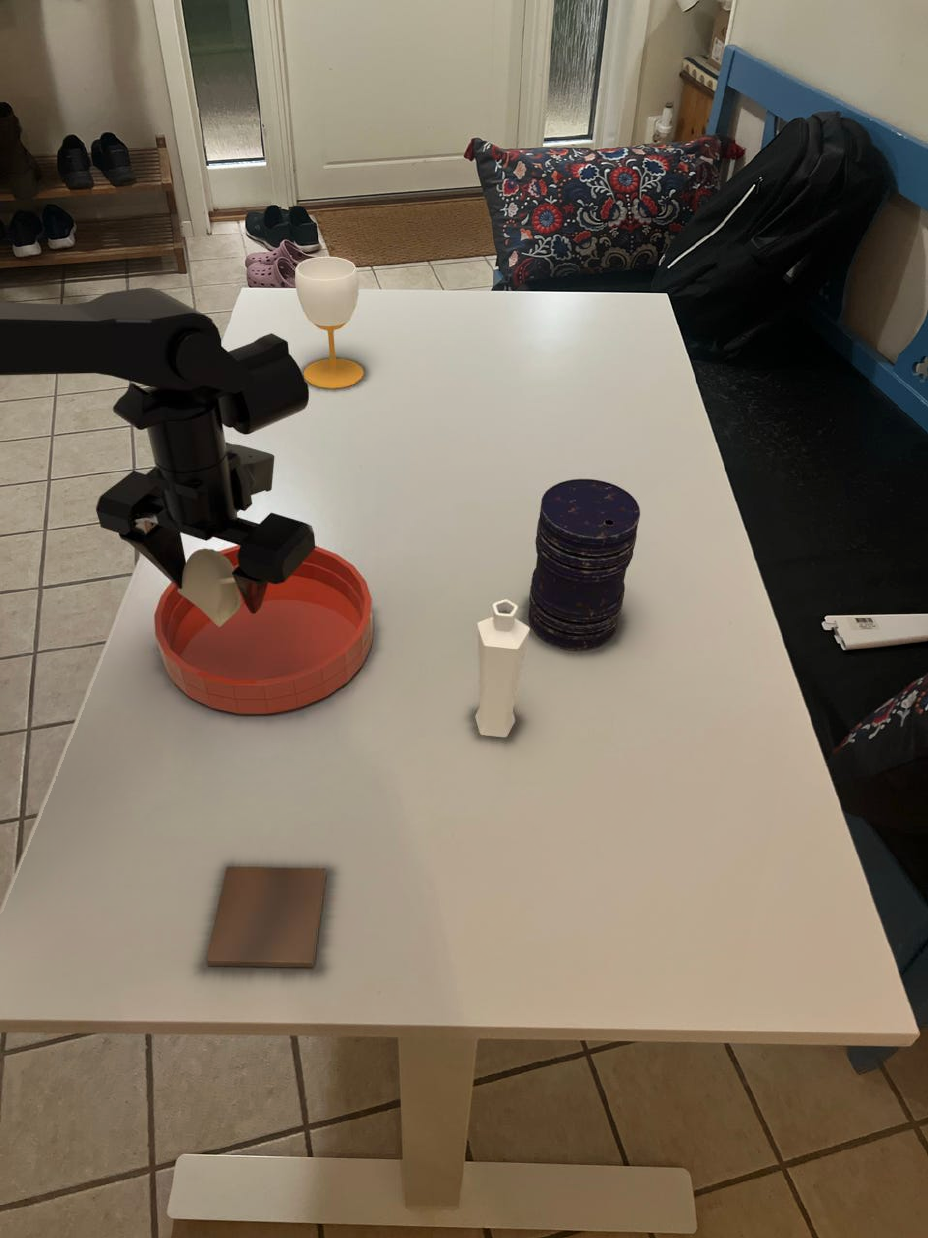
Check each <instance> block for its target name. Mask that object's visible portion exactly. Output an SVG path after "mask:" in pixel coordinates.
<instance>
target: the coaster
mask: <svg viewBox="0 0 928 1238" xmlns="http://www.w3.org/2000/svg"><path fill="white" fill-rule="evenodd" d="M224 874H225V875H224V878H223V883H222V887H221V891H220V896H219V900H218V905H217V910H216V914H215V918H214V923H213V928H212V933H211V936H210V941H209V946H208V950H207V955H206V960H205V962H206V965H207V966H208V967H251V968H253V967H255V968H256V967H258V968H260V967H261V968H263V967H265V968H314V967H315V960H316V954H317V953H316V952H317V945H318V937H319V931H320V921H321V916H322V915H321V914H322V906H323V897H324V890H325V884H326V875H327V873H326V869H325V868H320V867H319V868H317V867H316V868H315V867H309V868H308V867H270V866H269V867H267V866H226V869H225V873H224Z"/></svg>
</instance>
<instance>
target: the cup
mask: <svg viewBox="0 0 928 1238" xmlns="http://www.w3.org/2000/svg"><path fill="white" fill-rule="evenodd" d="M294 271H295V273H294V285H295V288H296V295H297V298H298V301H299V304H300V307H301V309H302V312H303V313H304V315H305V316H306V318H307V320H308V321H309V322H310V323H312V324H313V325H314V326H316V327H317V329H318V328H319V329H320V330H324V331H327V339H328V352H329V358H326V359H321V360H317V361H313V362H312V363H311V364H309V365H308V366H306V367H305V369H304V371H303V372H302V375H303V377H304V380H305V381H306V382H308V383H309V384H310V385H312V386H314V387H318V388H321V389H330V390H331V389H332V390H335V389H342V388H343V389H344V388H347V387H350V386H353V385H356V384H357V383H358V382H360V381H361V380H362V379H363V377H364V374H365V373H364V369H363V367H362V366H361V365H360V364H358V363H357V362H355V361H352V360H348V359H346V358H345V359H344V358H336V349H335V347H336V345H335V330H339V329H341V328H343V327H344V326H345V325H346V324H347V323H348V322H349V321H350V320H351V318H352V317H353V314H354V312H355V310H356V307H357V303H358V299H359V291H360V288H359V286H360V280H359V275H358V270H357V267H356V265H355V263H353V262H351V261H350V260H349V259H346V258H342V257H337V256H317V257H316V256H315V257H312V258H307V259H305V260H303V261H301V262H299V263H298V264H297V265H296V267H295V270H294Z"/></svg>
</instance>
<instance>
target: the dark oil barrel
mask: <svg viewBox="0 0 928 1238" xmlns="http://www.w3.org/2000/svg"><path fill="white" fill-rule="evenodd" d="M539 510H540V511H539V516H538V520H537V527H536V536H535V551H536V554H537V555H536V563H535V568H534V570H533V572H532V577H531V582H530V587H529V596H528V600H529V607H528V612H527V621H528V623H529V627H530V628H531V630H532V632H533V633H534V634H535V635H536V636H537V637H538V638H540V640H542V641H544V642H545V643H547V644H549V645H551V646H552V647H555V648H558V649H563V650H567V651H589V650H593V649H596V648H599V647H601V646H603V645H605V644H607V643H608V642H609V641H610V640H611V639H612V638H613V637H614V635H615V633H616V631H617V627H618V621H619V618H620V615H621V612H622V610H623V609H622V608H623V603H624V597H625V590H626V585H625V578H626V572H627V569H628V567H629V566H630V563H631V561H632V560H633V556H634V549H635V547H636V541H637V537H638V527H639V526H638V525H639V522H640V517H641V508H640V504H639V503H638V501H637V499H635V497H634V496H633V495H632V494H631V493H630V492H629V491H626V490H625V488H622V487H620V486H619V485H616V484H613V483H611V482H608V481H604V480H600V479H593V478H573V479H567V480H562V481H560V482H558V483H556V484H553V485H552V486H551V487H549V488H548V489H547V490H546V491H545V492H544V493H543V495H542V498H541V501H540V509H539Z"/></svg>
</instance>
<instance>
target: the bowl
mask: <svg viewBox="0 0 928 1238" xmlns="http://www.w3.org/2000/svg"><path fill="white" fill-rule="evenodd" d="M315 547H316V548H315V549H314V550H313V551H312V552H311V554H310V555H309V556H308V557H307V558H306V559H305V560H304V561H303V562H302V563H301V565H300V566H299V567H298V568H297V569H296V570H295V571H294V572H293V573H292V575H291V576H290V577H289V578H288V579H287V580H286V581H285V582H284V583H279V584H272V583H269V582H268V585H267V589H266V592H265V595H264V598H263V602H262V605H261V607H260V609H259V610H258V611H257V612H256V613H255V614H253V613H251V612H250V611H249V609H248V608H247V606H246V604H245V602H244V600H243V597H242V595H241V593H240V591H239V589H238V592H239V593H240V594H239V595H240V596H241V601H242V605H241V607H240V609H239V610H238V611H237V612H236V613H235V614H234V615H233V616H232V617H231V618H230V619H229V620H227V621H226V622H225V623H224V624H223V625H222V626H221V627H219V626H217V625H216V624H215V623H214V622H213V621H212V620H211V619H210V618H209V617H208V616H207V615H206V614H205V613H204V612H203V611H202V610H201V609H200V608H199V607H197V606H196V605H195V604H194V603H192V602H191V601H190V600H188V599H187V598H185V597H184V596H182V595H181V594H180V593H178V592H177V591H178V589H179V588H178V587H177V586H176V585H174V584H173V583H172V582H171V581H170V583H169V584H168V586H167V587H166V589H165V590H164V591H163V592H162V594H161V595H160V597H159V599H158V603H157V606H156V609H155V611H154V612H155V613H154V616H153V617H154V619H153V620H154V635H155V638H156V639H155V640H156V643H157V646H158V649H159V654H160V656H161V659H162V660H161V661H162V663H163V665H164V667H165V670H166V671H167V674H168V676H169V677H170V680H171V681H172V683H173V684H175V685H176V686H177V687H178V688H179V689H180V690H181V691H182V692H183V693H184V694H185V695H186V696H187V697H189V698H191V699H192V700H195V701H197V702H198V703H200V704H202V705H205V706H207V707H209V708H210V709H215V710H220V711H225V712H229V713H234V714H238V715H239V714H242V715H243V714H244V715H245V714H246V715H270V714H276V713H283V712H288V711H292V710H296V709H299V708H303V707H305V706H308V705H311V704H313V703H315V702H317V701H319V700H322V699H324V698H326V697H329V695H331V694H333V692H335V691H337V690H338V689H340V688H342V687H343V686H345V684H347V683H348V682H349V681H350V680H351V679H352V678H353V677H354V675H355V674H356V673H357V672H358V671H359V670H360V669H361V668H362V666H363V665H364V663H365V661H366V659H367V657H368V654H369V653H370V650H371V648H372V645H373V633H374V619H373V601H372V595H371V593H370V589H369V586H368V583H367V581H366V579H365V578H364V577H363V575H362V574H361V573H360V572H359V570H358V569H357V568H356V566H355V565H353V564H352V563H351V562H349V560H346V559H345V558H344V557H342V556H341V555H339V554H337V553H335V552H332V551H330V550H327V549H325V548H323V547H320V546H317V545H315ZM239 549H240V545H237V544H236V545H234V546H231V547H228V548H224V549H221V550H217V551H218V552H220V553H221V554H222V555H224V556H226V557H227V558H228V559H229V561H230V563H231V564H232V565H233V567H234V570H235V569H236V568H237V567H238V566H239V563H238V557H237V555H238V552H239Z"/></svg>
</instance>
